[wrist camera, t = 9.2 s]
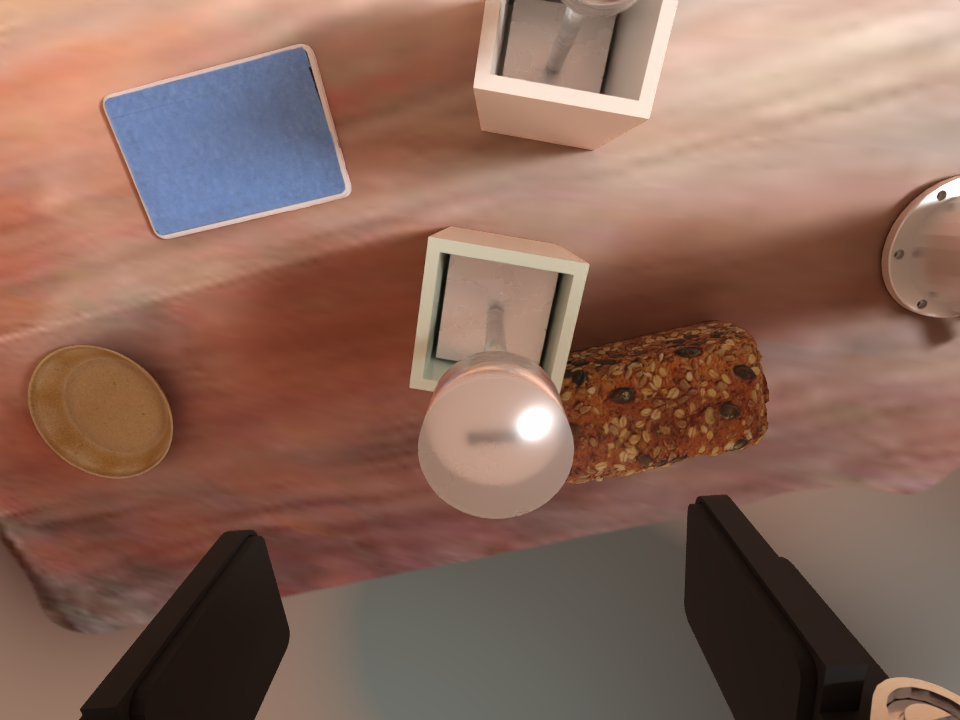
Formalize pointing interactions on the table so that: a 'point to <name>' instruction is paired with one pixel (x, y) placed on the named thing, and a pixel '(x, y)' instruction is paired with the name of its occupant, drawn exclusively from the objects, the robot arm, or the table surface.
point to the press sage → (504, 251)
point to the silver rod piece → (495, 394)
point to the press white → (571, 110)
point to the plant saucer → (100, 411)
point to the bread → (663, 399)
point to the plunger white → (561, 41)
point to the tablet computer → (230, 142)
